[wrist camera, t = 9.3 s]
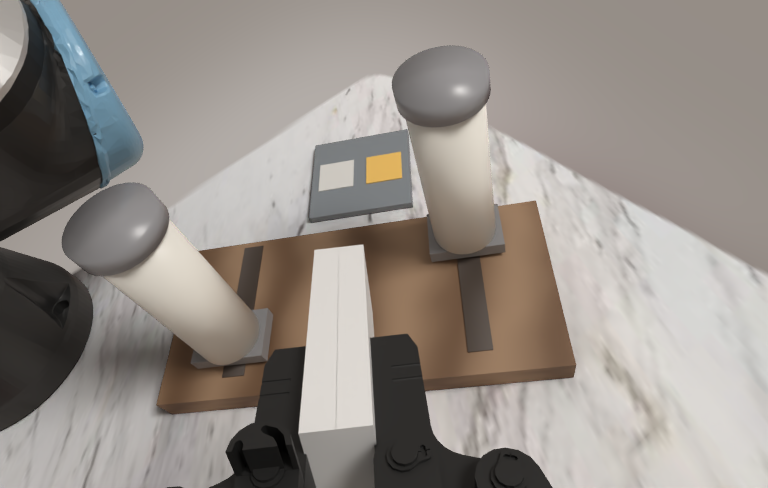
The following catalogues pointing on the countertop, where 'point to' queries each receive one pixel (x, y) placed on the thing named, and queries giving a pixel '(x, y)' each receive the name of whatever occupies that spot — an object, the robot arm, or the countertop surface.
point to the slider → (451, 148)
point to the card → (361, 176)
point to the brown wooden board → (398, 308)
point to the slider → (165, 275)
